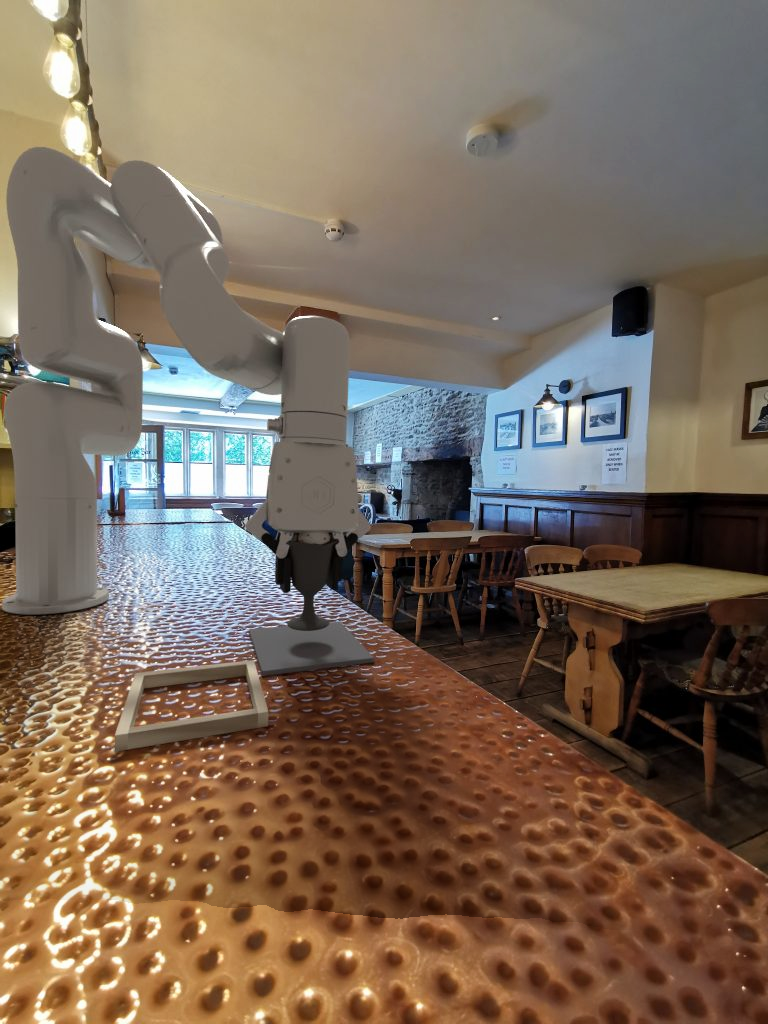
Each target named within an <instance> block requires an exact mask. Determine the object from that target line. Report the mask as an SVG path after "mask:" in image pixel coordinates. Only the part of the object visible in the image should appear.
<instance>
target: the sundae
mask: <svg viewBox="0 0 768 1024" xmlns="http://www.w3.org/2000/svg"><path fill="white" fill-rule="evenodd" d="M338 543H339V540H338V539H332V538H331V537H330V536H329V533H322V532H313V533H293V536H292V540H291V542H288V543H286V544H287V545H290V546H289V549H288V552H289V557H290V558H291V583H292V584H291V586H293V588H295V590H296V591H297V592H298V593H300V595H301V596H302V597H303V607H302V608H303V609H302V612H301V614H300V615H299V616H297V617H293V618H291V619H290V620H288V621H287V623H286V626H288V627H290V628H291V629H295V630H300V631H314V630H320V629H323V628H326V627H327V626H328V625H329V622H330V621H329V620H328V619H326V618H324V617H320V616H318V615H317V614H316V612H315V611H316V610H315V606H314V605H315V604H314V603H315V602H314V601H315V595H316V594H317V593H319V592H321V591H322V590H323V588H325V586H327V585H326V581H327V577H328V573H329V566H330V560H331V554H332V552H333V548H334V546H335V545H337V544H338Z"/></svg>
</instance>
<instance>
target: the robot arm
mask: <svg viewBox="0 0 768 1024" xmlns="http://www.w3.org/2000/svg"><path fill="white" fill-rule="evenodd" d="M110 179H111V180H110V182H109V181H107V180H106V179H104V178H103V177H102V176H100V175H99V174H98V173H96V172H95V171H94V170H92V169H90V168H89V167H87V166H86V165H85V164H83V163H82V162H79V161H78V160H77V159H75V158H73V157H72V156H69V154H68V155H67V153H64V152H61V151H59V150H57V149H53V148H51V147H47V146H46V147H45V146H35V147H30V148H28V149H27V150H25V151H24V152H22V153H21V154H20V155H19V157H18V158H17V159H16V161H15V162H14V164H13V166H12V169H11V171H10V174H9V177H8V182H7V187H6V199H5V200H6V202H5V203H6V214H7V219H8V220H7V221H8V225H9V231H10V234H11V237H12V238H11V239H12V242H13V246H14V251H15V256H16V265H17V331H18V332H17V334H18V344H19V345H18V346H19V350H20V353H21V355H22V358H23V359H24V360H25V361H26V363H28V364H29V365H30V366H32V367H34V368H35V369H36V370H37V369H38V370H40V371H43V372H44V373H45V372H46V373H48V374H52V375H55V376H59V377H63V378H67V379H72V380H76V381H78V382H79V381H80V382H84V383H88V384H90V389H91V391H90V390H86V389H82V388H79V387H76V386H75V387H74V386H70V385H67V384H66V385H65V384H61V383H60V384H59V383H55V382H49V381H29V382H25V383H22V384H19V385H17V386H16V387H14V388H13V389H12V390H10V392H9V393H8V395H7V396H6V399H5V400H4V401H5V402H4V406H3V417H4V422H5V426H6V431H7V436H8V439H9V443H10V447H11V448H10V449H11V452H12V459H13V460H12V461H13V470H14V471H13V472H14V473H13V474H14V475H13V476H14V499H15V501H14V502H15V503H14V506H15V507H14V509H15V511H14V513H15V517H14V519H15V520H14V521H15V577H16V578H15V583H16V584H15V585H16V587H15V588H16V589H15V590H16V593H13V594H11V595H8V596H6V597H4V599H2V601H1V610H2V611H4V612H6V613H9V614H15V615H25V616H26V615H27V616H28V615H51V614H53V615H54V614H60V613H69V612H75V611H81V610H86V609H88V608H94V607H96V606H98V605H101V604H103V603H105V602H106V601H108V600H109V598H110V592H109V590H108V589H107V588H106V587H104V586H103V587H102V586H98V490H97V489H98V488H97V487H98V486H97V481H96V478H95V475H94V472H93V470H92V468H91V466H90V464H89V463H88V461H87V460H86V458H85V457H84V455H94V456H95V455H97V456H106V457H107V456H109V457H110V456H111V457H117V456H124V455H126V454H129V453H130V452H132V451H133V450H134V449H135V448H136V446H137V445H138V443H139V441H140V439H141V434H142V428H143V396H144V395H143V393H144V392H143V387H144V383H143V382H144V381H143V379H144V375H143V374H144V370H143V369H144V368H143V367H144V365H143V359H142V358H143V357H142V354H141V352H140V349H139V347H138V344H137V343H136V342H135V339H133V338H132V336H131V335H129V334H128V333H127V332H126V331H124V330H122V329H120V328H118V327H117V326H114V325H112V324H109V323H106V322H104V321H103V320H102V321H101V320H99V319H98V318H97V316H96V313H95V311H94V284H93V279H92V277H91V272H90V270H89V268H88V266H87V263H86V261H85V259H84V257H83V254H82V253H81V251H80V250H79V248H78V246H77V244H76V242H75V238H78V239H79V240H82V241H83V242H85V243H87V244H89V245H90V246H92V247H94V248H96V249H98V250H99V251H101V252H102V253H104V254H106V255H107V256H110V257H112V258H113V259H115V260H117V261H119V262H120V263H122V264H125V265H127V266H129V267H132V268H136V269H140V270H153V271H154V270H155V272H156V273H157V275H158V276H159V277H160V279H159V286H158V287H159V289H158V291H159V301H160V302H159V303H160V308H161V311H162V314H163V316H164V319H165V320H166V321H167V324H168V325H169V327H170V328H171V329H172V331H173V334H175V335H176V337H177V339H178V340H179V341H180V343H181V344H182V346H183V348H185V350H186V351H187V353H188V354H189V355H190V356H191V358H192V359H193V360H194V361H195V362H196V363H197V364H198V365H199V366H200V368H203V370H204V371H206V372H207V373H209V374H211V375H212V376H214V377H217V378H219V379H222V380H225V381H228V382H231V383H234V384H236V385H239V386H242V387H244V388H246V389H249V390H252V391H254V392H258V393H260V394H264V395H268V396H277V395H279V396H280V395H281V396H280V397H281V398H280V415H279V416H277V418H273V419H272V418H267V422H266V423H267V424H266V429H267V431H269V432H274V434H277V435H278V439H279V441H274V444H273V448H272V451H271V455H270V461H269V468H268V475H267V476H268V477H267V484H266V485H267V487H266V495H265V498H266V499H265V501H264V502H263V503H262V504H261V505H260V507H259V508H258V509H257V510H256V511H255V512H254V513H253V514H252V516H250V518H249V519H248V520H247V522H246V523H245V525H244V528H245V529H246V530H247V531H248V533H250V534H252V536H253V537H255V538H257V539H258V540H259V541H261V542H262V543H263V544H264V545H265V547H267V548H268V549H269V550H270V551H271V552H272V553H273V554H274V555H275V568H274V582H275V584H276V585H279V588H280V590H281V591H282V592H283V594H289V593H290V592H291V588H292V587H291V586H292V584H291V583H292V580H291V558H290V557H289V552H288V549H289V546H290V545H287V544H286V543H288V542H291V540H292V536H293V533H313V532H322V533H329V536H330V537H331V538H332V539H338V540H339V543H338V544H337V545H335V546H334V548H333V552H332V554H331V560H330V566H329V573H328V577H327V581H326V585H325V586H327V588H328V589H329V588H330V590H332V591H338V590H339V583H340V582H342V581H343V565H344V557H345V556H346V555H347V554H348V551H349V550H351V549H352V547H353V546H354V545H355V544H356V543H357V542H358V540H359V539H361V538H362V537H364V535H366V534H367V533H369V531H371V529H372V526H371V523H370V522H369V521H368V519H367V518H366V517H365V515H364V514H363V512H362V510H361V509H360V508H359V486H358V475H357V463H356V458H355V455H356V454H355V450H354V447H353V446H347V433H348V432H347V429H348V427H347V426H348V403H349V379H350V378H349V374H350V354H351V353H350V349H351V347H350V346H351V343H350V342H351V340H350V335H349V331H348V330H347V328H346V327H345V326H344V324H342V323H340V322H339V321H337V320H336V319H332V318H329V317H324V316H319V315H318V316H317V315H304V316H298V317H295V318H292V319H291V320H289V321H288V322H287V323H286V324H285V326H284V328H283V332H281V331H280V330H278V329H275V328H272V327H271V326H269V325H268V324H266V323H265V322H264V321H261V320H259V319H258V318H256V317H255V316H254V315H251V313H248V312H247V311H245V310H243V308H241V307H240V306H239V304H238V303H236V301H235V300H234V299H233V297H232V296H231V295H230V293H229V292H228V291H227V289H226V288H225V287H224V284H225V282H226V280H227V278H228V276H229V272H230V261H229V257H228V254H227V251H226V250H225V248H224V246H223V234H222V230H221V227H220V223H219V221H218V219H217V218H216V216H215V215H214V214H213V213H212V211H211V210H210V209H209V208H208V207H207V206H205V205H204V204H203V203H202V202H201V201H200V200H199V199H198V198H197V197H195V196H194V195H193V194H192V193H191V192H190V191H189V190H188V189H186V188H185V187H184V186H183V185H182V184H181V183H180V182H179V181H178V180H177V179H175V177H172V175H170V174H169V173H168V172H167V171H165V170H163V169H162V168H161V167H159V166H157V165H155V164H153V163H150V162H148V161H144V160H128V161H125V162H123V163H121V164H120V165H118V166H117V167H116V168H115V169H114V171H113V173H112V175H111V178H110ZM265 521H266V524H267V525H268V526H270V527H271V528H272V529H274V530H275V531H277V534H276V537H274V536H273V535H272V534H271V533H270V532H269V531H267V530H266V529H264V527H263V523H264V522H265Z"/></svg>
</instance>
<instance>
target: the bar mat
mask: <svg viewBox="0 0 768 1024" xmlns="http://www.w3.org/2000/svg"><path fill="white" fill-rule="evenodd" d="M248 634H249V638H250V641H251V644H252V649H253V651H254V654H255V658H256V662H257V663H258V667H259V671H260V673H261V676H262V677H265V676H274V675H281V674H289V673H296V672H306V671H314V670H320V669H331V668H337V667H345V666H353V665H361V664H369V663H375V657H374V656H373V655H372V654H371V653H370V652H369V651H368V649H367V648H366V647H364V645H363V644H362V643H361V642H360V641H359V640H358V639H357V638H356V637H355V636H354V634H353V633H352V632H351V631H349V630H348V629H347V628H346V627H345V625H344V624H343V623H342V622H341V621H329V625H328V626H327V627H326V628H323V629H320V630H314V631H300V630H295V629H291V628H290V627H288V626H287V625H285V626H284V625H283V626H270V627H259V628H249V630H248Z"/></svg>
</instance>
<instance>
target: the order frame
mask: <svg viewBox="0 0 768 1024" xmlns="http://www.w3.org/2000/svg"><path fill="white" fill-rule="evenodd" d="M239 677H246V682H247V686H248V690H249V691H248V692H249V695H250V700H251V704H252V708H251V709H243V710H236V711H230V712H223V713H216V714H211V715H210V714H208V715H205V716H198V717H190V718H183V719H178V720H177V719H176V720H171V721H163V722H158V723H150V724H143V725H138V726H135V723H136V719H137V716H138V711H139V708H140V706H141V705H140V704H141V702H142V701H141V700H142V697H143V695H144V689H150V688H157V687H164V686H174V685H181V684H189V683H197V682H209V681H215V680H223V679H224V680H225V679H232V678H239ZM264 727H269V709H268V705H267V702H266V699H265V695H264V690H263V688H262V684H261V681H260V677H259V672H258V671H257V667H256V663H255V660H254V659H253V660H243V661H235V662H234V661H233V662H223V663H215V664H208V665H207V664H206V665H205V664H204V665H197V666H189V667H188V666H187V667H179V668H178V667H177V668H170V669H169V668H167V669H162V670H161V669H160V670H152V671H151V670H150V671H144V672H143V671H142V672H135V673H134V676H133V678H132V681H131V686H130V688H129V690H128V694H127V698H126V700H125V703H124V706H123V710H122V712H121V716H120V718H119V722H118V725H117V728H116V731H115V734H114V752H115V753H116V752H121V751H126V750H127V751H129V750H133V749H138V748H145V747H151V746H158V745H163V744H168V743H169V744H170V743H175V742H181V741H186V740H187V741H188V740H192V739H198V738H205V737H211V736H216V735H222V734H229V733H234V732H241V731H247V730H253V729H260V728H264Z"/></svg>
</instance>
